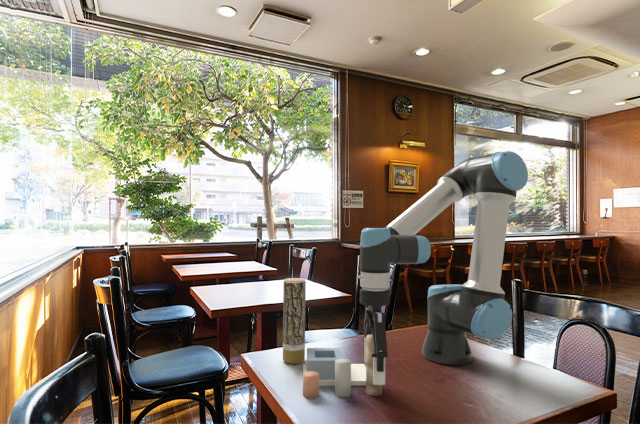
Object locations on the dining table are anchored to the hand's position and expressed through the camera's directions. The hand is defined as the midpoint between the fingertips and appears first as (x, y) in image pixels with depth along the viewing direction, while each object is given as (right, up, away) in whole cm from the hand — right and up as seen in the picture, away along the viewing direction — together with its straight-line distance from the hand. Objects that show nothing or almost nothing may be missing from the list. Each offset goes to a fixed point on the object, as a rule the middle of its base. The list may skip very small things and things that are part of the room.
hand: (373, 372), depth 96 cm
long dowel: (0, -5, 0) cm, 5 cm away
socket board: (-9, -5, +9) cm, 14 cm away
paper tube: (-22, -6, +21) cm, 31 cm away
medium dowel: (-8, -5, -1) cm, 9 cm away
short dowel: (-16, -5, -2) cm, 17 cm away
